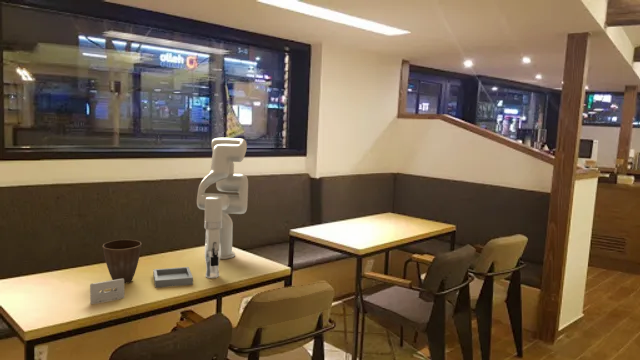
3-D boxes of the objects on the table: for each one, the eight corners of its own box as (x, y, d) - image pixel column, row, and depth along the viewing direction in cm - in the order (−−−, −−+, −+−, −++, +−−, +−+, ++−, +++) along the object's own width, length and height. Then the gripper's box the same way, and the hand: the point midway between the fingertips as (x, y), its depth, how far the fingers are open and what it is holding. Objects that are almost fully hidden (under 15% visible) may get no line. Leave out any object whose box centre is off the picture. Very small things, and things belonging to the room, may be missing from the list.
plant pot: (127, 289, 193) (127, 250, 191) (95, 284, 196) (94, 247, 194) (148, 277, 207) (148, 241, 205) (117, 273, 210) (117, 238, 208)
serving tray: (153, 276, 209) (153, 269, 209) (188, 273, 215) (188, 266, 215) (155, 287, 196) (155, 280, 195) (192, 284, 201) (193, 277, 201)
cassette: (123, 297, 185) (123, 277, 184) (124, 298, 183) (124, 279, 182) (89, 303, 177) (89, 283, 176) (91, 305, 176) (90, 284, 175)
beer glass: (211, 279, 208) (211, 246, 206) (201, 276, 212) (201, 243, 210) (223, 276, 213) (224, 243, 211) (213, 272, 217) (213, 240, 216)
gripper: (201, 220, 216) (201, 257, 218) (207, 229, 200) (207, 269, 202) (218, 220, 219) (217, 256, 221) (225, 228, 203) (224, 267, 205)
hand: (212, 262), depth 212 cm, fingers open, 9 cm apart
